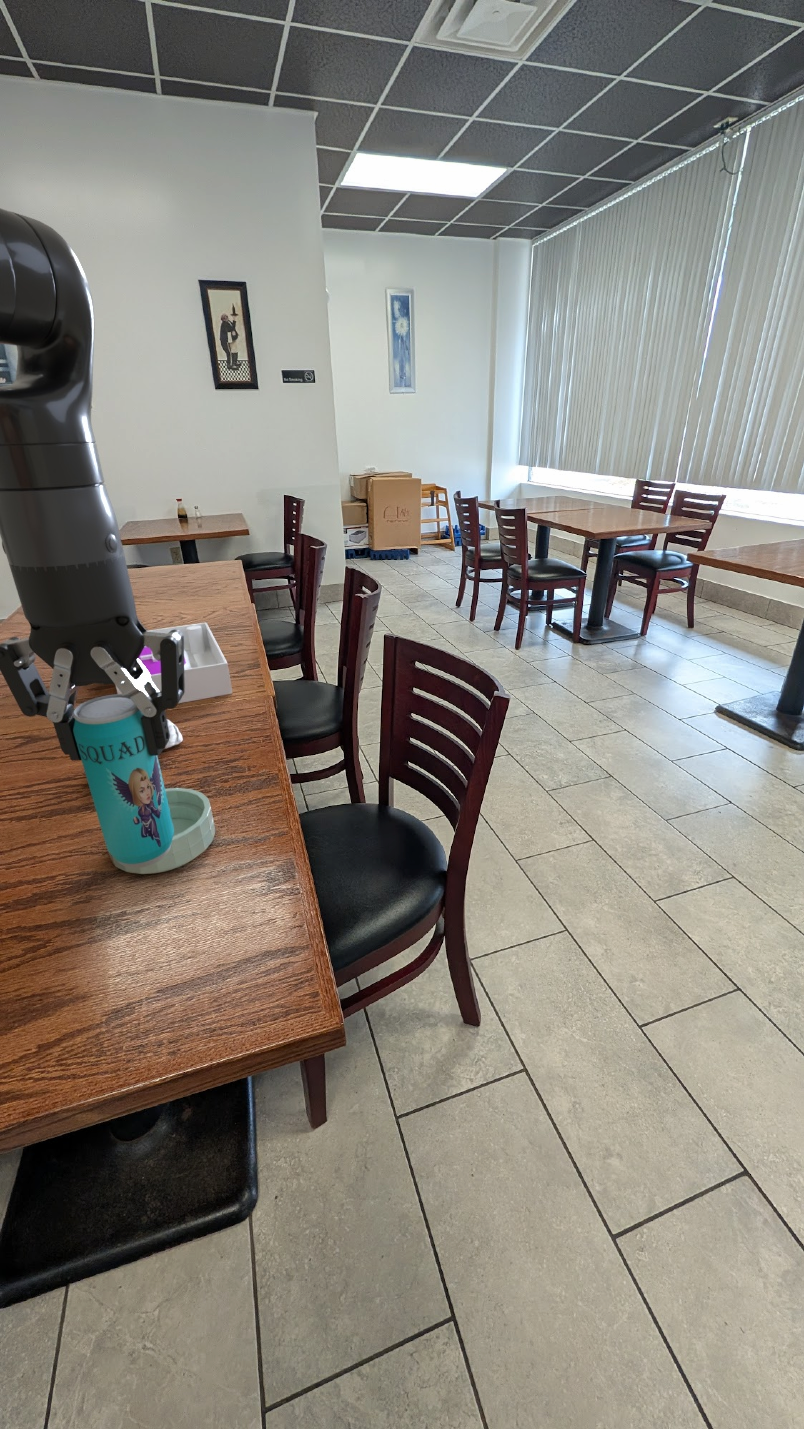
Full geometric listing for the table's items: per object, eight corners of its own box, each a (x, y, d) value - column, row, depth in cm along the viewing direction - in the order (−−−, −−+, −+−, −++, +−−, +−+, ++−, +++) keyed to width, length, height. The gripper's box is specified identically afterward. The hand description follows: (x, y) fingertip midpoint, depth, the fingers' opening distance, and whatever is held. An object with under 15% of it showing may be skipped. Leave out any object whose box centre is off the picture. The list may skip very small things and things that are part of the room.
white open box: (211, 647, 158) (206, 621, 155) (232, 693, 129) (227, 662, 126) (121, 661, 150) (114, 634, 147) (122, 713, 121) (114, 680, 118)
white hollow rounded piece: (188, 751, 107) (186, 728, 105) (149, 759, 104) (146, 735, 102) (178, 732, 113) (175, 709, 111) (140, 738, 110) (137, 715, 108)
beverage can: (139, 881, 51) (97, 727, 44) (97, 860, 54) (52, 712, 47) (190, 844, 55) (159, 700, 49) (149, 827, 58) (115, 687, 52)
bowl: (96, 883, 74) (86, 851, 72) (130, 820, 87) (122, 791, 85) (205, 873, 76) (198, 842, 73) (223, 812, 88) (218, 784, 86)
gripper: (180, 541, 47) (213, 729, 54) (-9, 547, 46) (51, 738, 53) (153, 558, 40) (195, 771, 47) (-70, 566, 39) (8, 782, 46)
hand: (119, 753), depth 50 cm, fingers closed on beverage can, 5 cm apart
